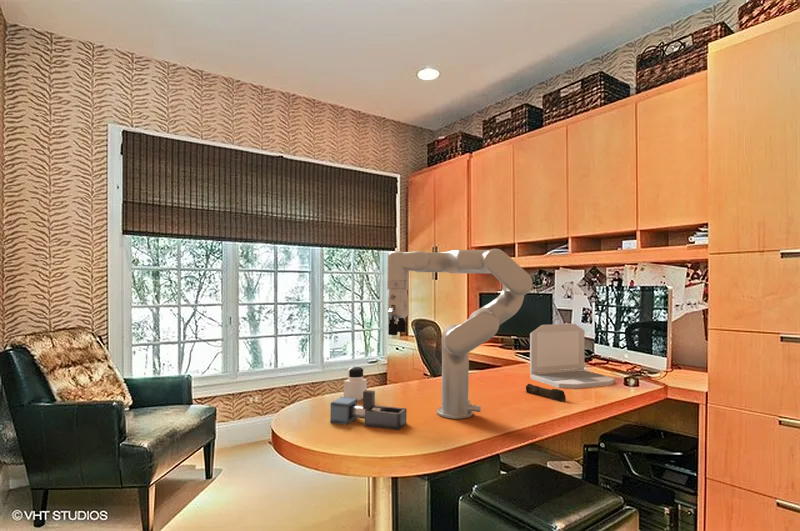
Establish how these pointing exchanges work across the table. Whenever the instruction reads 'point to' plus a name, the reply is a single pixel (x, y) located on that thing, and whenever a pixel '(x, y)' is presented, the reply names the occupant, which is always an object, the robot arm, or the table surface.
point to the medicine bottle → (355, 383)
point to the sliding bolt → (364, 405)
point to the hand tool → (547, 392)
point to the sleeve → (386, 418)
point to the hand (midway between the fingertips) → (397, 333)
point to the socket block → (342, 410)
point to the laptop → (561, 358)
